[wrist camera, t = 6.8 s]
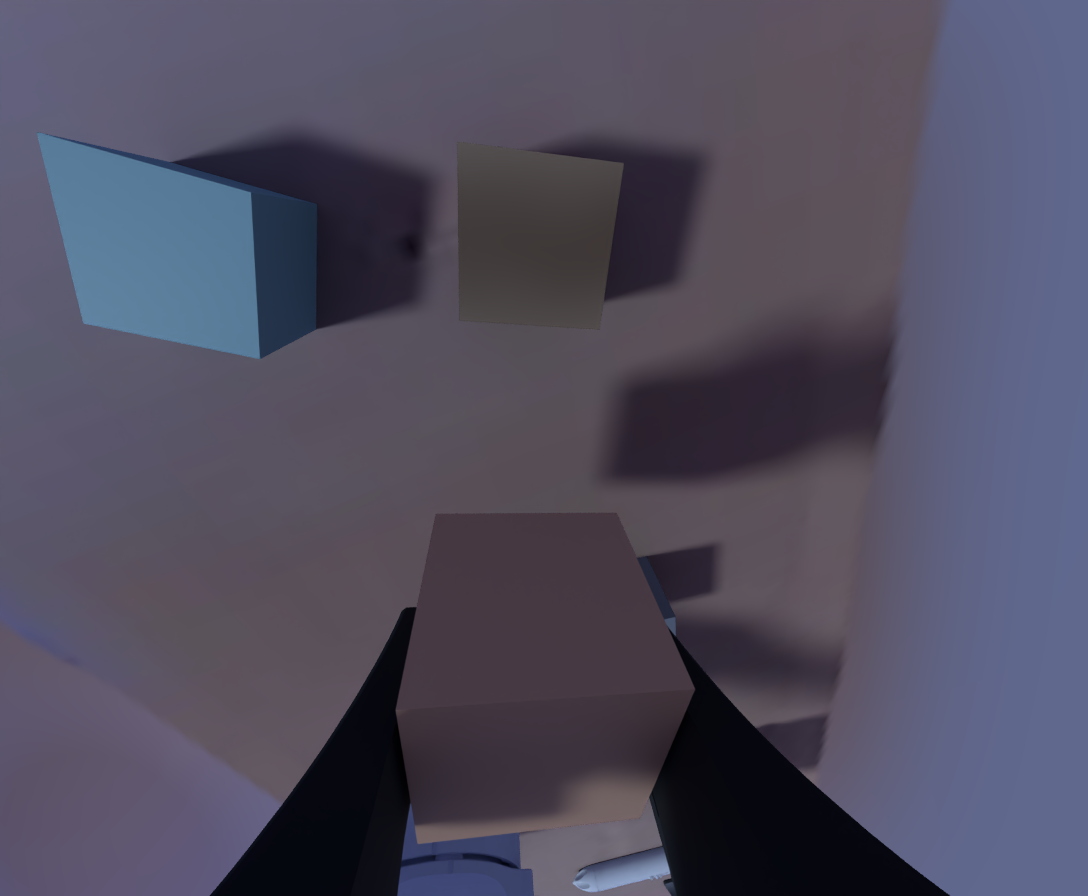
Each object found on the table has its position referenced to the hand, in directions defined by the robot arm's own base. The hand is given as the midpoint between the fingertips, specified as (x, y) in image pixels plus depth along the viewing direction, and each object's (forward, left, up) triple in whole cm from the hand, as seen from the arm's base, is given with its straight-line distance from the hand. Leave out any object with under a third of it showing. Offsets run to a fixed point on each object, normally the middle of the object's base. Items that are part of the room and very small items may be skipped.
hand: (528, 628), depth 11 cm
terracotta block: (0, 0, -2) cm, 2 cm away
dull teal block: (+8, +9, -8) cm, 15 cm away
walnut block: (+9, 0, -8) cm, 12 cm away
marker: (-47, -17, -9) cm, 51 cm away
